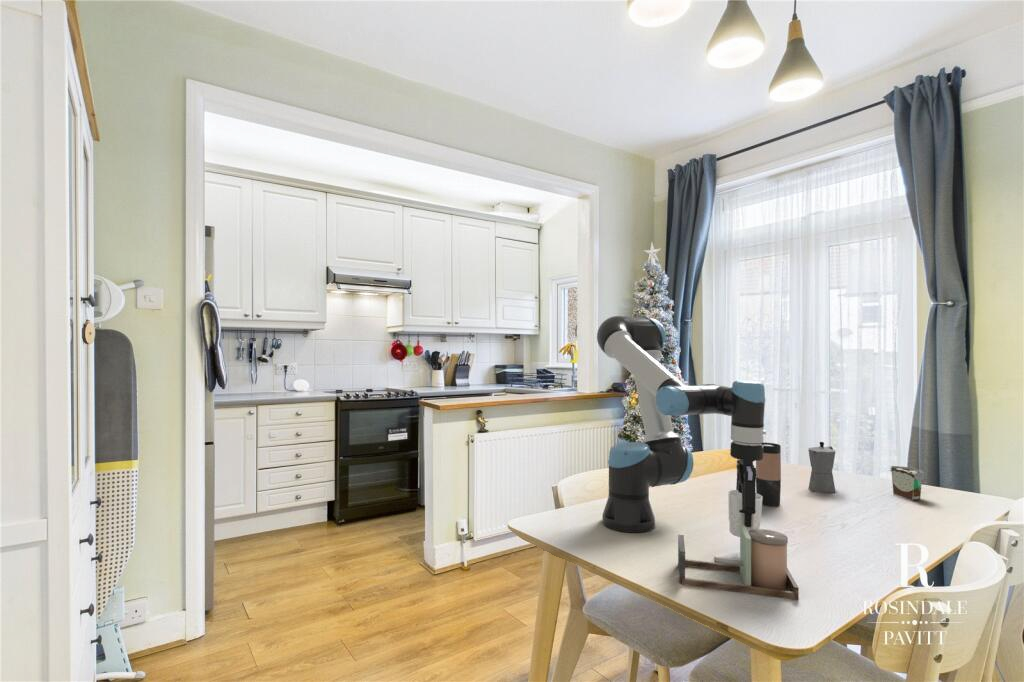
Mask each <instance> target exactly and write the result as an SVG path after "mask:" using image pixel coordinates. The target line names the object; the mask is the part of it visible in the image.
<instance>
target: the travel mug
mask: <svg viewBox="0 0 1024 682" xmlns="http://www.w3.org/2000/svg"><path fill="white" fill-rule="evenodd" d="M761 444H762V446H763V459H762V460H760V461H755V468H756V482H755V493H757V494H760V495H761V496H762V497H763V498H762V506H765V507H779V506H781V488H782V487H781V486H782V485H781V482H782V467H781V466H782V464H781V463H782V462H781V461H782V460H781V459H782V457H781V455H782V454H781V451H782V450H781V449H782V448H781V444H779V443H773V442H763V443H761Z"/></svg>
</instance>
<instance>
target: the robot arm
mask: <svg viewBox="0 0 1024 682" xmlns="http://www.w3.org/2000/svg"><path fill="white" fill-rule="evenodd" d="M666 339H667V335H666V331H665V328H664V325H662V323H661V322H660V321H659V320H657V319H656V318H652V317H647V316H625V315H624V316H622V315H615V316H611V317H609V318H607V319H605V320H603V322H601V324H600V325H599V326H598V329H597V332H596V340H597V343H598V346H599V348H600V350H601V351H602V352H603V353H604V355H606V356H607V357H608V358H609V359H610V358H611V359H615V360H616V361H617V362H618V363H619V364H620V365H621V366H623V367H624V368H625V369H626V370H627V371H628V372H629V373H630V374H631V375H632V376H633V377H634V383H635V388H636V393H637V398H638V405H639V409H640V415H641V419H642V424H643V427H644V434H645V437H644V439H643V440H642V441H641V442H639V441H633V442H630V441H628V442H627V441H626V442H622V443H617V444H615V445H613V446H612V447H611V448H610V450H609V452H608V460H607V463H608V497H607V499H606V502H605V503H606V504H605V506H604V508H603V512H602V521H601V522H602V524H603V525H604V526H605V527H606V528H609V529H611V530H615V531H618V532H624V533H645V532H650V531H653V530H654V529H655V527H656V519H655V515H654V512H653V508H652V504H651V502H650V498H649V497H650V487H658V486H659V487H660V486H667V485H676V484H680V483H683V482H686V481H687V480H689V478H690V477H691V474H692V473H693V471H694V457H693V453H692V451H691V449H690V448H689V447H688V446H687V445H685V444H683V443H682V440H681V436H680V435H678V434H676V433H675V430H674V427H673V422H672V418H671V416H673V417H679V416H690V415H711V414H712V415H713V414H715V415H716V414H718V415H723V416H729V417H731V422H730V441H731V442H730V450H729V451H730V453H729V454H730V457H732V458H734V459H736V484H735V485H736V488H735V490H738V492H740V493H742V510H739V513H741V525H745V526H746V529H747V531H748V532H749V531H750V530H753V521H754V514H755V512H756V510H755V493H756V466H755V465H754V462H756V461H760V460H762V459H763V446H762V444H761V443H764V435H767V431H766V430H764V427H765V425H764V421H765V406H766V394H765V393H766V392H765V391H766V390H765V385H764V384H763V382H760V381H756V380H755V381H754V380H753V381H751V380H734V381H733V382H732V386H725V385H718V384H714V383H711V384H710V383H707V384H706V383H704V384H701V385H686V384H684V383H683V382H682V381H680V380H679V379H678V377H676V376H674V375H673V374H672V373H671V372H670V371H669V370H668V369H667V368H666V367H664V366H663V365H662V364H660V362H659V358H660V357H661V355H662V353H663V352H662V350H663V349H664V347H665V345H666V343H665V342H666Z"/></svg>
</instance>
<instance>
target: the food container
mask: <svg viewBox="0 0 1024 682" xmlns="http://www.w3.org/2000/svg"><path fill="white" fill-rule="evenodd" d="M889 471H890V472H891V483H892V493H893V495H895V496H898V497H900V496H901V497H900V498H903V499H905V498H906V500H908V499H909V501H911V502H919V501H921V493H922V484H923V480H924V479H925V474H924V472H923V471H922V470H920V469H917V468H913V467H906V466H898V465H891V467H890V470H889Z"/></svg>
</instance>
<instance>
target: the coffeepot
mask: <svg viewBox="0 0 1024 682" xmlns="http://www.w3.org/2000/svg"><path fill="white" fill-rule="evenodd" d="M819 445H820V446H814V447H813V446H812V447H808V450H807V451H808V457H809V461H810V462H809V463H810V467H811V473H810V478H809V482H808V483H809V484H808V490H810V491H812V492H817V493H824V494H834V493H836V486H835V481H834V473H833V469H834V465H835V464H834V463H835V457H836V452H837V451H836V450H835V449H834V448H833V446H831V445H830V446H825V442H824V441H819Z"/></svg>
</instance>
